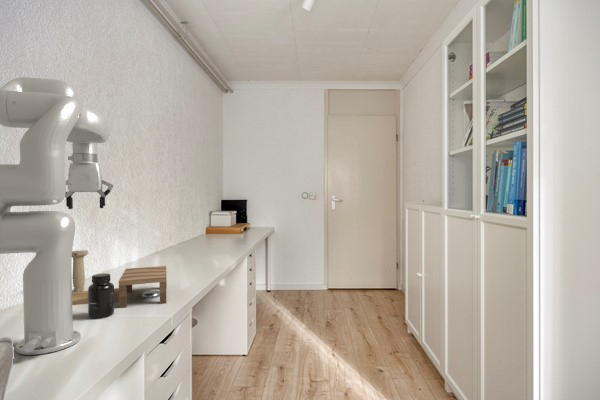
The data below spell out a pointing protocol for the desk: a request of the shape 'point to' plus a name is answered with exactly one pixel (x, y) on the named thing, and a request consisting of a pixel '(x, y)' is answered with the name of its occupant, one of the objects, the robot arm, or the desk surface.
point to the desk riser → (142, 281)
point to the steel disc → (150, 294)
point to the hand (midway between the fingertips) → (86, 208)
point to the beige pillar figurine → (78, 270)
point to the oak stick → (83, 297)
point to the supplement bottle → (100, 297)
